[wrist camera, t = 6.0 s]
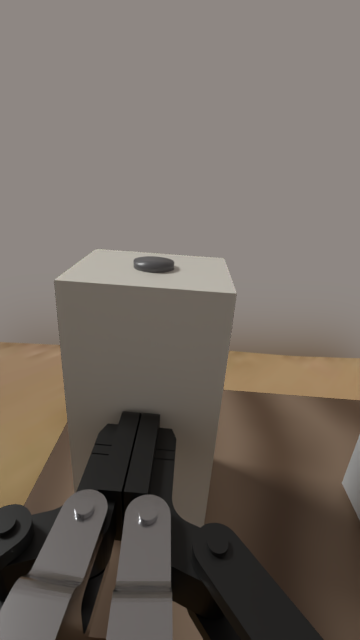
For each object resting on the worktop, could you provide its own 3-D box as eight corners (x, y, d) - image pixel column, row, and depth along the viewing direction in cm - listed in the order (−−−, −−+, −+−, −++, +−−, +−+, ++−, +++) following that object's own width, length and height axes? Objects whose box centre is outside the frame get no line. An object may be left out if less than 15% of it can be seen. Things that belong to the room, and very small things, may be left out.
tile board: (-33, 642, 13) (-39, 625, 12) (90, 391, 27) (89, 379, 27) (655, 703, 12) (676, 688, 12) (404, 416, 27) (409, 404, 26)
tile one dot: (77, 522, 16) (53, 272, 11) (105, 440, 20) (97, 242, 15) (202, 532, 15) (237, 286, 11) (200, 448, 20) (224, 251, 15)
